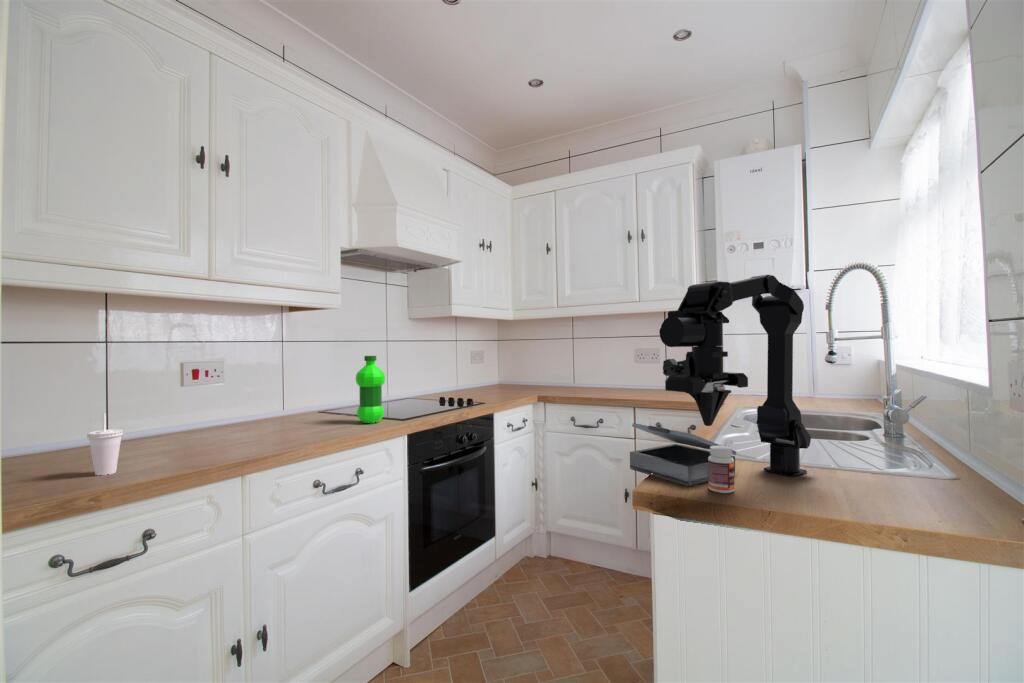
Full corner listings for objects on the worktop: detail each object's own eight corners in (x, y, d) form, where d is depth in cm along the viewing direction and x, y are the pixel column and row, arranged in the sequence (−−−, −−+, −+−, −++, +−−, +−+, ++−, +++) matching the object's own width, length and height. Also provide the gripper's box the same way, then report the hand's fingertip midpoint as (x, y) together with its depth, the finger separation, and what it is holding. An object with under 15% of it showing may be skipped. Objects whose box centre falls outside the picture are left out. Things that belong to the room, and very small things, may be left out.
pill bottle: (735, 494, 92) (734, 451, 92) (708, 492, 93) (708, 449, 93) (733, 487, 96) (733, 446, 96) (708, 485, 98) (707, 444, 98)
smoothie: (80, 478, 106) (80, 415, 106) (96, 470, 112) (96, 411, 112) (115, 475, 108) (114, 414, 108) (128, 468, 114) (128, 410, 114)
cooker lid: (674, 442, 119) (675, 439, 119) (735, 455, 105) (736, 451, 105) (629, 425, 111) (629, 421, 111) (688, 436, 97) (689, 432, 97)
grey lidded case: (675, 459, 119) (675, 443, 119) (735, 474, 105) (735, 456, 105) (629, 469, 110) (629, 451, 111) (688, 486, 97) (688, 466, 97)
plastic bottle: (372, 425, 171) (371, 356, 171) (350, 423, 176) (349, 356, 176) (390, 421, 180) (390, 355, 180) (369, 419, 185) (368, 355, 185)
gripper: (700, 345, 106) (701, 416, 106) (642, 347, 96) (643, 424, 96) (749, 345, 96) (750, 423, 96) (690, 347, 86) (691, 433, 86)
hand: (708, 425), depth 94 cm, fingers closed
